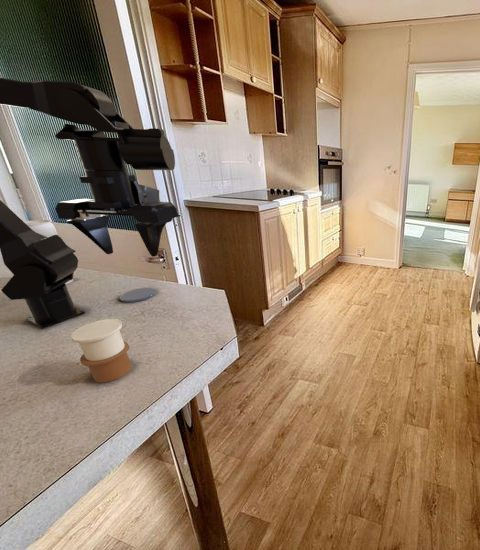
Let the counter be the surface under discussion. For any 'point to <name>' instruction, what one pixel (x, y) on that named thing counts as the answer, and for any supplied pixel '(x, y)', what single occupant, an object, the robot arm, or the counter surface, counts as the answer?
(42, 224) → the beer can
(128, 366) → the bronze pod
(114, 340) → the cream pod
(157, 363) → the counter surface
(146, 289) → the saucer
